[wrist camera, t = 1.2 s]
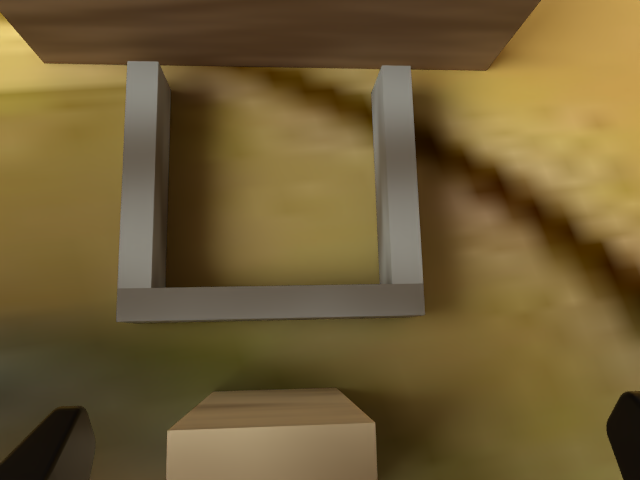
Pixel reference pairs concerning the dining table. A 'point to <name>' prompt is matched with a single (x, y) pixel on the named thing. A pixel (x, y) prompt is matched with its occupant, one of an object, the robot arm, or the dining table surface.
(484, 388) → the dining table surface
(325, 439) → the cabinet block
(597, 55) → the dining table surface
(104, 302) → the dining table surface
